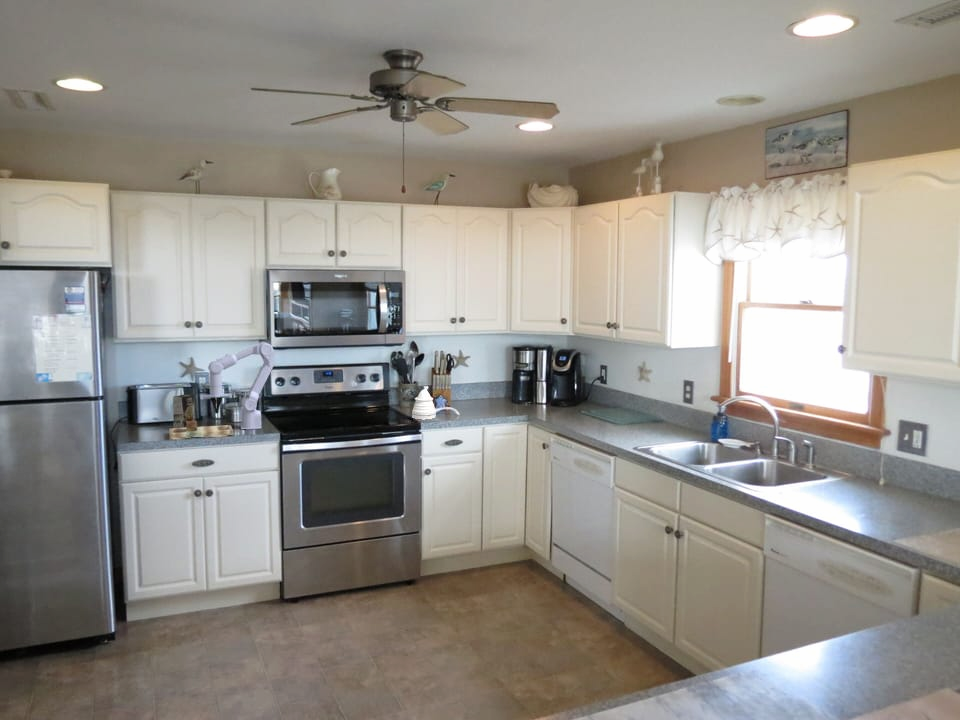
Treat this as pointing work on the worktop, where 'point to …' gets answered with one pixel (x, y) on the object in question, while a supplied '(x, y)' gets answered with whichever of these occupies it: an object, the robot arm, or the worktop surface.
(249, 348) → the robot arm
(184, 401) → the coffee box
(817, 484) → the worktop surface
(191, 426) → the walnut block
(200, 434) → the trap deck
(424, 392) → the honey pot
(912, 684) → the worktop surface
